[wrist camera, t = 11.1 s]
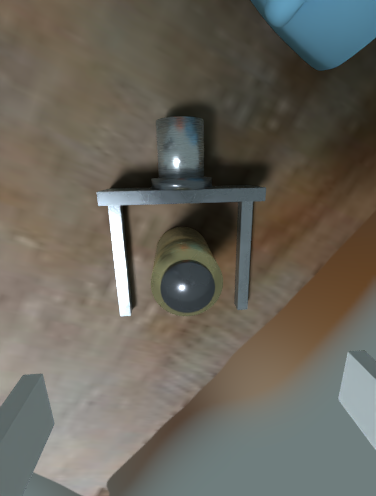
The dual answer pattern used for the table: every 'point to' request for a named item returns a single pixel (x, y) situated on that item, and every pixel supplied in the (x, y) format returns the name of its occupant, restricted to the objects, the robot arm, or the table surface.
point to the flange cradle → (181, 199)
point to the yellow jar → (185, 273)
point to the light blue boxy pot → (322, 27)
